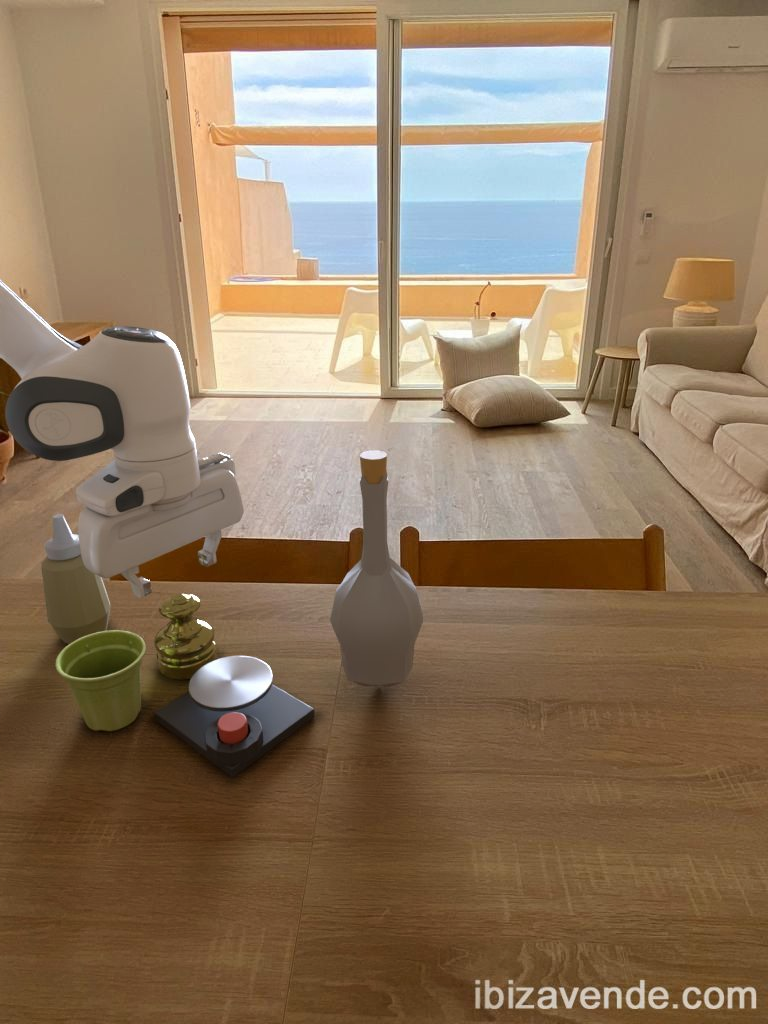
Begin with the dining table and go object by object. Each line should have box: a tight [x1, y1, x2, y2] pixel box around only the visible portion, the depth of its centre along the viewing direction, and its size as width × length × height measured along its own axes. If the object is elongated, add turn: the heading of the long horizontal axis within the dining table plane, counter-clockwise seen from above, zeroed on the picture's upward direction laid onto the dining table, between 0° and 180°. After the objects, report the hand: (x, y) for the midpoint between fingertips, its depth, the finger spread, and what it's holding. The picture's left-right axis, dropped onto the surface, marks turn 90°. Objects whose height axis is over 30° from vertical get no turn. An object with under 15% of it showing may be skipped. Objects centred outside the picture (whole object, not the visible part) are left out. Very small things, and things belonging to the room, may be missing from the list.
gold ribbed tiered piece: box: [153, 593, 218, 680], centre depth 88 cm, size 7×7×10 cm
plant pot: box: [55, 629, 147, 732], centre depth 79 cm, size 9×9×9 cm
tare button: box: [218, 712, 248, 744], centre depth 74 cm, size 3×3×2 cm
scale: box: [153, 683, 315, 778], centre depth 79 cm, size 14×12×3 cm
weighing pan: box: [188, 655, 274, 712], centre depth 81 cm, size 10×10×1 cm
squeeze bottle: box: [40, 513, 112, 645], centre depth 93 cm, size 8×8×18 cm
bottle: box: [329, 449, 424, 688], centre depth 79 cm, size 11×11×30 cm
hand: (176, 578), depth 85 cm, fingers open, 8 cm apart
